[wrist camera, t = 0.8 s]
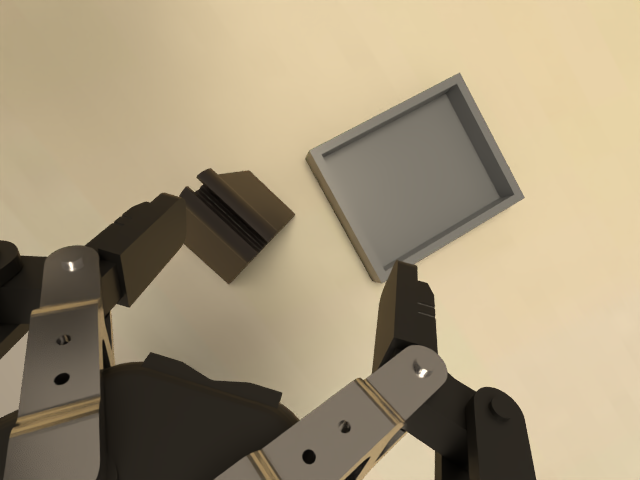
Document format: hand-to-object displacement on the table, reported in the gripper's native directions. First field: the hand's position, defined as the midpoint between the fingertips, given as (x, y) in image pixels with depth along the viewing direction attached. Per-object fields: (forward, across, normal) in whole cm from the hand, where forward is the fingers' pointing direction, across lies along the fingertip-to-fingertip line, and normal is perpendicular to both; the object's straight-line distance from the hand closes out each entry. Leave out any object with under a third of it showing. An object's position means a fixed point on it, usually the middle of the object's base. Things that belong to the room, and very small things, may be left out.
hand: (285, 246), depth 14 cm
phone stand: (+16, +7, +13) cm, 22 cm away
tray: (+24, -7, +8) cm, 27 cm away
